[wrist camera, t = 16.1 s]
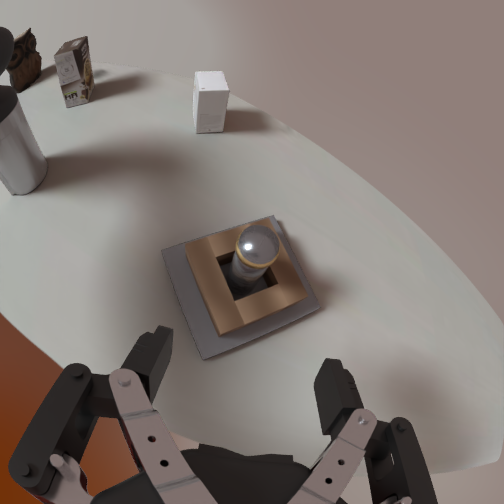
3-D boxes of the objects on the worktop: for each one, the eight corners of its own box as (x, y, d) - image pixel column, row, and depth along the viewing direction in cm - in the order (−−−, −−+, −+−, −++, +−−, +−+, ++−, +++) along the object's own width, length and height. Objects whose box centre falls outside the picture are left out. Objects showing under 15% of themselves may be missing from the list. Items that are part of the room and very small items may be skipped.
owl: (44, 68, 54) (35, 24, 36) (41, 82, 50) (29, 33, 32) (15, 83, 49) (2, 41, 31) (9, 100, 46) (-7, 52, 28)
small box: (223, 132, 50) (230, 90, 41) (195, 134, 49) (198, 91, 40) (217, 109, 53) (223, 70, 44) (192, 110, 52) (195, 70, 42)
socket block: (218, 337, 34) (221, 333, 30) (185, 256, 37) (184, 243, 34) (297, 303, 38) (308, 296, 34) (262, 231, 41) (268, 217, 38)
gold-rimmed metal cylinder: (232, 301, 36) (248, 270, 25) (219, 272, 37) (230, 230, 26) (261, 289, 37) (288, 255, 27) (248, 261, 39) (269, 218, 28)
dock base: (202, 360, 33) (203, 359, 32) (162, 254, 38) (161, 250, 37) (316, 309, 39) (320, 307, 38) (271, 219, 44) (273, 215, 43)
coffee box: (88, 103, 49) (78, 48, 34) (66, 108, 47) (52, 56, 32) (95, 84, 52) (88, 34, 37) (74, 89, 50) (64, 41, 36)
